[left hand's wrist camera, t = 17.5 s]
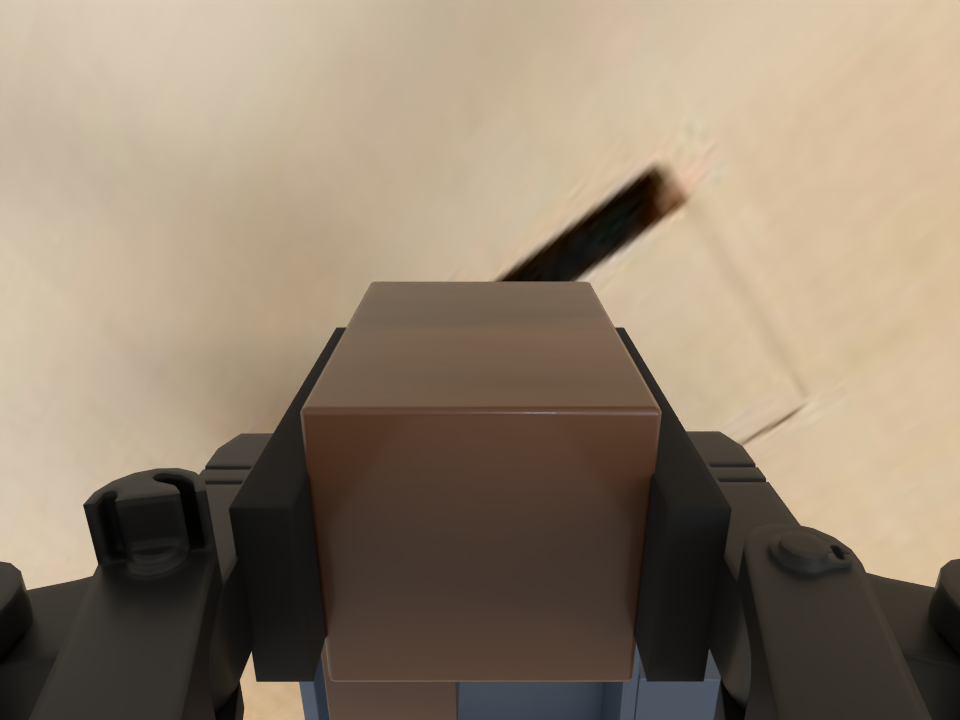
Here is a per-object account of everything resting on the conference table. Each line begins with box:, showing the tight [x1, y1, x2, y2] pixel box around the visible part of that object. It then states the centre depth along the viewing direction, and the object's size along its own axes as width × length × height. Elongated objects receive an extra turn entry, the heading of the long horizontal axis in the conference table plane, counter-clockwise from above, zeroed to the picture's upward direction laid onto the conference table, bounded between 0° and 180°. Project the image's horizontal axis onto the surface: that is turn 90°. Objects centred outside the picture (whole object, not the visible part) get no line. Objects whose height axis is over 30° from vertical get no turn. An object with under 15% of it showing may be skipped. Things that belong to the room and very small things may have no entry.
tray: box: [299, 644, 721, 720], centre depth 29 cm, size 25×17×4 cm
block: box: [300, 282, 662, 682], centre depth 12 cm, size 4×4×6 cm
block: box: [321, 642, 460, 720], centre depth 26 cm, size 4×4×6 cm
